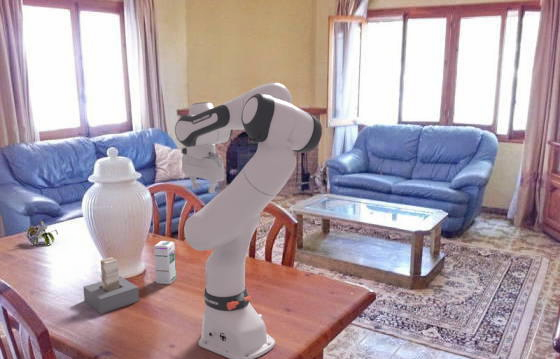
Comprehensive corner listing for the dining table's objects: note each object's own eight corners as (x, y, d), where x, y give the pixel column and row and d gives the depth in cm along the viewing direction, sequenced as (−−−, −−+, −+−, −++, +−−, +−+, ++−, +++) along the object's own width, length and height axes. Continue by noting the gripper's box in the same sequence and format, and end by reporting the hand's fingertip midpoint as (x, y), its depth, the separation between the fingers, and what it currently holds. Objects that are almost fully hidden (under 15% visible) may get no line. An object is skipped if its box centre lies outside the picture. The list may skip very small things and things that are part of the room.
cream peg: (120, 300, 164) (117, 260, 161) (108, 303, 161) (105, 263, 158) (114, 296, 167) (112, 257, 164) (103, 299, 164) (100, 260, 161)
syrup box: (170, 284, 177) (168, 246, 174) (155, 283, 178) (153, 245, 176) (176, 278, 183) (175, 241, 180) (162, 277, 184) (160, 240, 181)
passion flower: (34, 256, 220) (17, 235, 219) (53, 245, 229) (38, 224, 228) (44, 247, 214) (28, 225, 213) (64, 235, 223) (48, 214, 222)
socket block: (139, 301, 164) (138, 287, 163) (101, 313, 155) (100, 299, 154) (120, 289, 173) (120, 276, 172) (84, 300, 164) (83, 286, 163)
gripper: (228, 153, 161) (229, 194, 164) (193, 146, 176) (194, 184, 178) (213, 155, 157) (214, 197, 160) (178, 148, 171) (179, 187, 174)
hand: (203, 190), depth 169 cm, fingers open, 8 cm apart
